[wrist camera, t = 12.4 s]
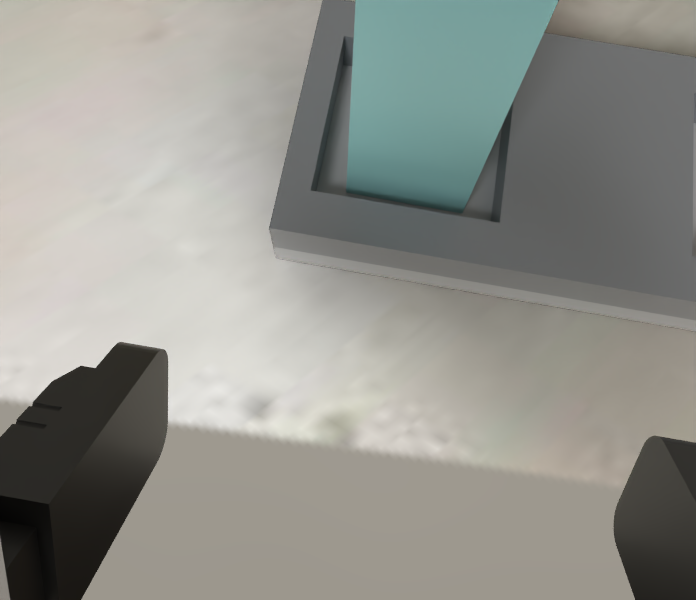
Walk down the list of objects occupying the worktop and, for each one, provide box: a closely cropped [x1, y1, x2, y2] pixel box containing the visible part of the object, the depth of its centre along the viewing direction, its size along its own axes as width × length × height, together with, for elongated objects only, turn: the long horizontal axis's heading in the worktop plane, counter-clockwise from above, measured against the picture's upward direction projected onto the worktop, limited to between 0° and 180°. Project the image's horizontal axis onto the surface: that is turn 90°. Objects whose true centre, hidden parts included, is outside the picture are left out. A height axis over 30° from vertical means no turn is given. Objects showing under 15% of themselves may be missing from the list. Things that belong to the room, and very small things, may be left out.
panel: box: [269, 0, 696, 331], centre depth 22 cm, size 20×9×2 cm, turn 80°
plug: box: [346, 0, 559, 214], centre depth 16 cm, size 4×5×13 cm
